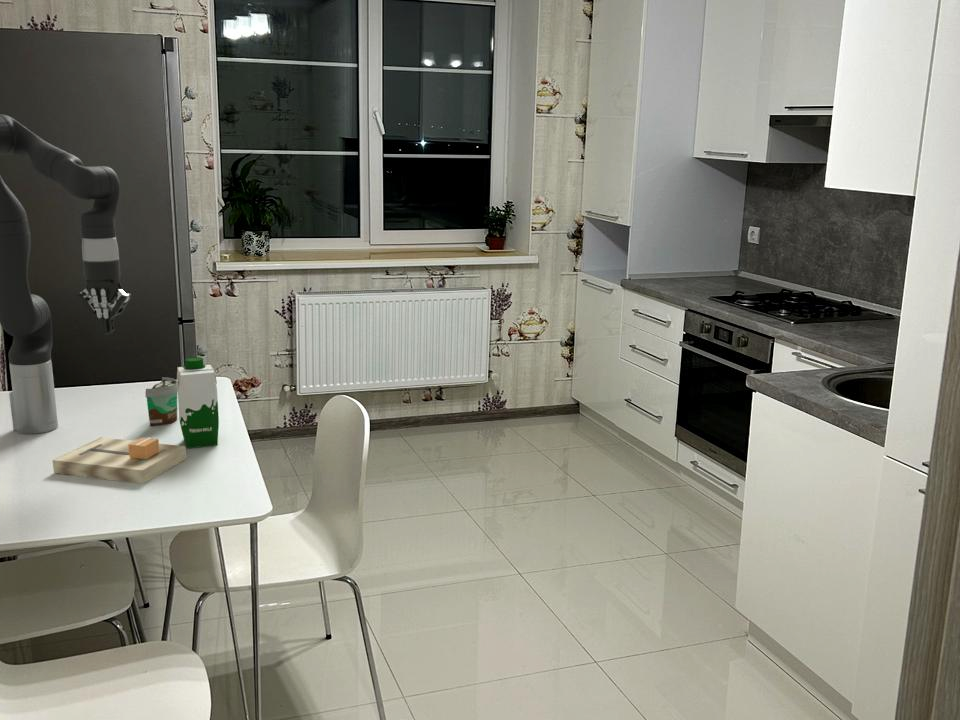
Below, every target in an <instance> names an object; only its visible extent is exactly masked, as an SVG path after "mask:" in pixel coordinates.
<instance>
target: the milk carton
mask: <svg viewBox="0 0 960 720" xmlns="http://www.w3.org/2000/svg"><path fill="white" fill-rule="evenodd" d="M184 361H185V366H184V365H183V366H179V367H178V366H177V371H176V380H177V386H178V392H177V405H178V413H179V414H178V415H179V425H180V429H181V433H182V437H183V441H184V444H185V448H186V449H195V448H204V447H212V446H218V445H219V443H218V442H219V429H220V428H219V426H220V424H219V423H220V420H219V402H218V387H217V382H218V381H217V376H216V373H215V369H214V368H213V367H212V365H211V364H204V358H203V357H199V356H193V357H187V358H185V359H184Z"/></svg>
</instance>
